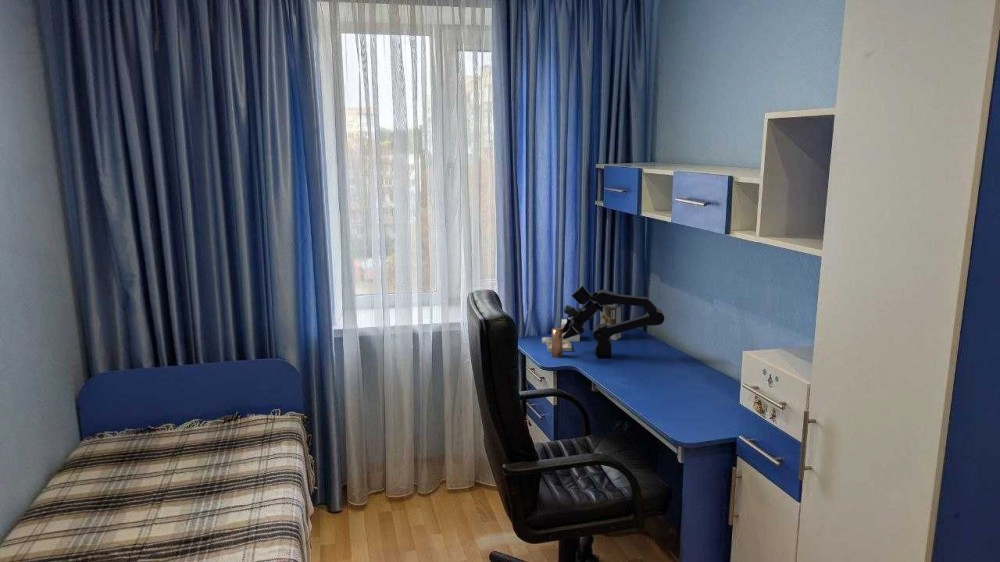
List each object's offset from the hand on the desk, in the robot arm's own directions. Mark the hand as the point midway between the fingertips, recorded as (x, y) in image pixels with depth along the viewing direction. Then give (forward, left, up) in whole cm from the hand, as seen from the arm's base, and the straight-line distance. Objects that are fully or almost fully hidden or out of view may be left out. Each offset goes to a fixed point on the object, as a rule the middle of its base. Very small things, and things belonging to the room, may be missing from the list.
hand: (562, 335), depth 304 cm
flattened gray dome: (+5, -21, -10) cm, 24 cm away
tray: (0, -12, -9) cm, 15 cm away
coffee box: (-27, -29, -10) cm, 41 cm away
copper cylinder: (+2, 0, -9) cm, 10 cm away
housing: (-7, -27, -9) cm, 29 cm away
